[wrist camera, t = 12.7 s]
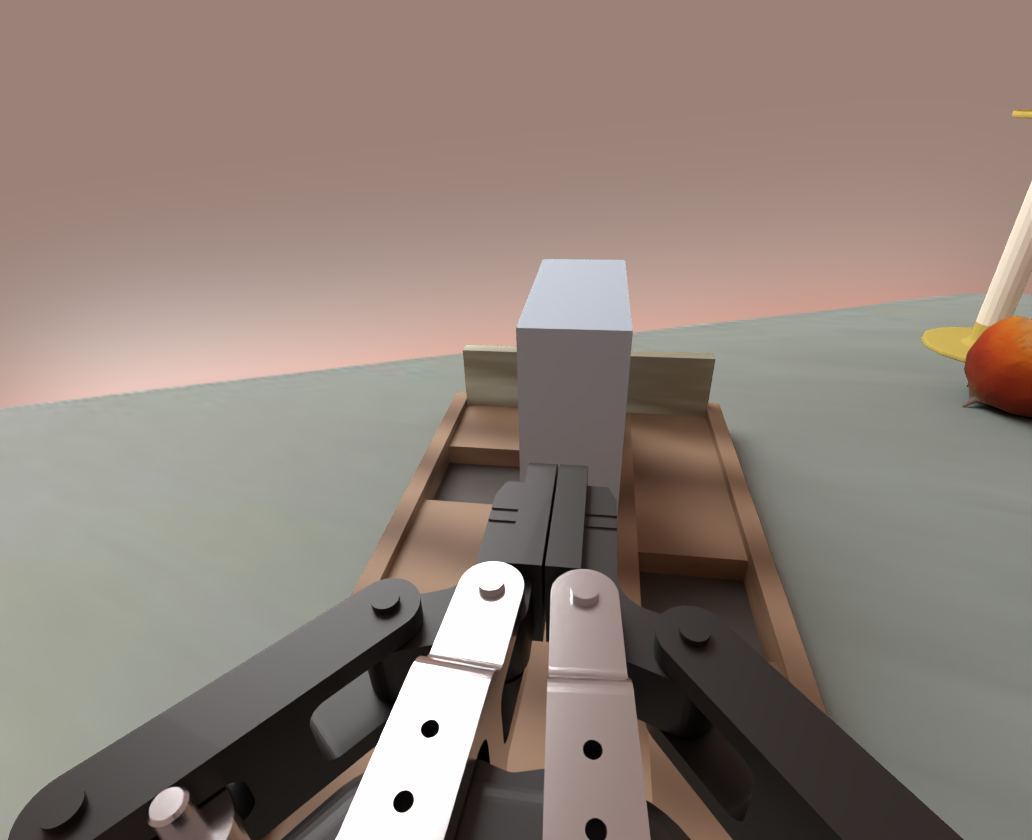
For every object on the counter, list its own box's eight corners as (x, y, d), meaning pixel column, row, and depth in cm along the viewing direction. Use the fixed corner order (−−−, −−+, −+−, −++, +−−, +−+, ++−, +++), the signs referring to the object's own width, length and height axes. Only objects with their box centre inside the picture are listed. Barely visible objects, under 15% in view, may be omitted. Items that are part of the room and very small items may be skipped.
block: (543, 426, 41) (543, 259, 35) (612, 429, 40) (625, 260, 34) (521, 537, 31) (516, 327, 25) (615, 544, 30) (632, 330, 24)
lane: (459, 415, 46) (453, 344, 43) (714, 428, 43) (727, 353, 40) (231, 895, 18) (168, 792, 15) (896, 1016, 16) (983, 921, 12)
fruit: (926, 358, 50) (1017, 287, 45) (1003, 414, 49) (1104, 349, 44) (935, 396, 44) (1041, 319, 39) (1022, 461, 43) (1143, 391, 38)
